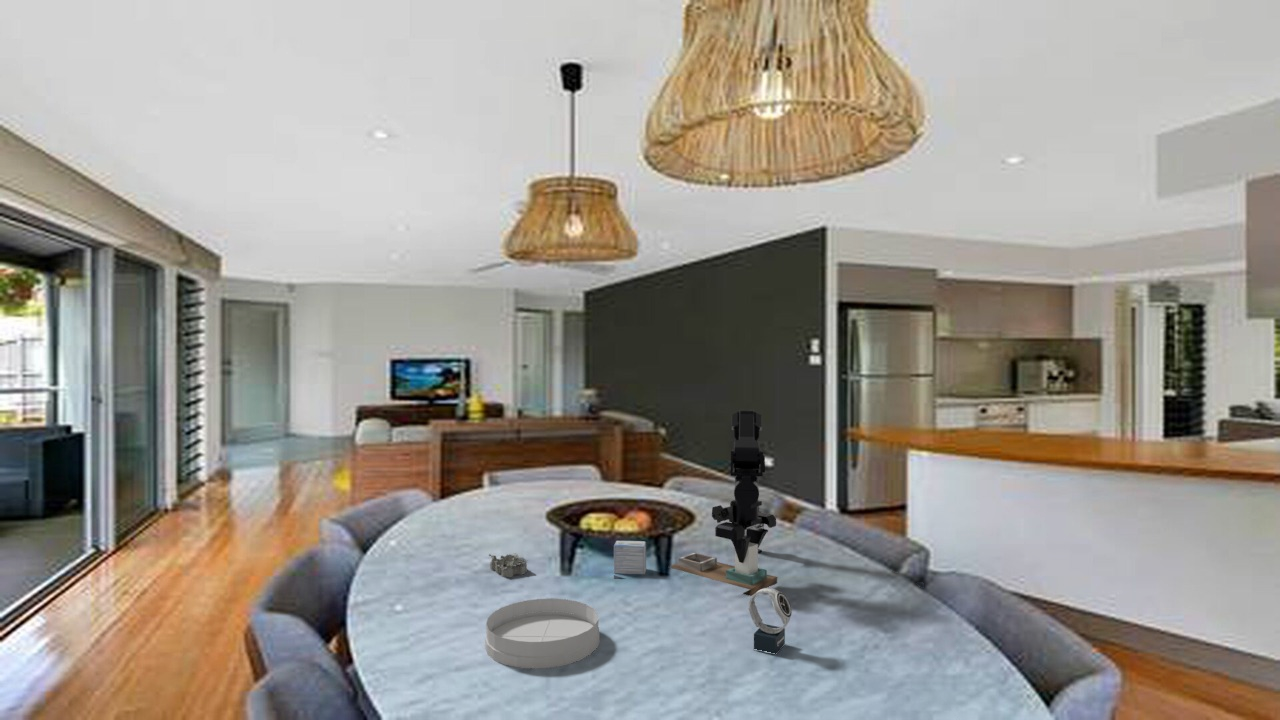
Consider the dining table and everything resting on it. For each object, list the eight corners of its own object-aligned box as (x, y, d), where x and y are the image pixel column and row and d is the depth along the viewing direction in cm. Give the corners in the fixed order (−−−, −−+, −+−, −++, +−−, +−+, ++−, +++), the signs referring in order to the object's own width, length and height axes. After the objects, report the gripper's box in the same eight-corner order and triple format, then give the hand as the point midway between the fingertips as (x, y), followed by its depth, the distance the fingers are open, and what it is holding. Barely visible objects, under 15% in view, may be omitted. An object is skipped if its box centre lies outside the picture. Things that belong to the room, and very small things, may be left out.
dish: (500, 621, 143) (500, 597, 143) (604, 622, 142) (604, 598, 142) (471, 669, 121) (471, 641, 121) (593, 671, 120) (593, 643, 120)
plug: (744, 568, 168) (744, 540, 168) (757, 572, 165) (757, 544, 165) (734, 572, 165) (735, 544, 165) (748, 576, 162) (748, 547, 162)
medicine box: (646, 574, 172) (646, 541, 172) (644, 580, 168) (644, 545, 168) (615, 573, 173) (615, 540, 173) (613, 579, 169) (613, 545, 169)
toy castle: (487, 568, 178) (487, 553, 178) (513, 563, 182) (513, 548, 182) (502, 579, 169) (502, 563, 169) (530, 574, 173) (530, 558, 173)
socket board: (696, 562, 183) (696, 549, 183) (777, 583, 166) (777, 568, 166) (668, 572, 174) (668, 559, 174) (750, 595, 157) (750, 580, 157)
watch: (785, 657, 125) (786, 598, 125) (745, 648, 129) (745, 590, 129) (794, 646, 130) (794, 589, 130) (755, 637, 134) (755, 582, 134)
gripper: (740, 487, 177) (740, 546, 177) (697, 498, 163) (697, 562, 163) (777, 492, 170) (777, 554, 170) (735, 505, 156) (735, 572, 156)
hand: (746, 560), depth 165 cm, fingers closed on plug, 4 cm apart
